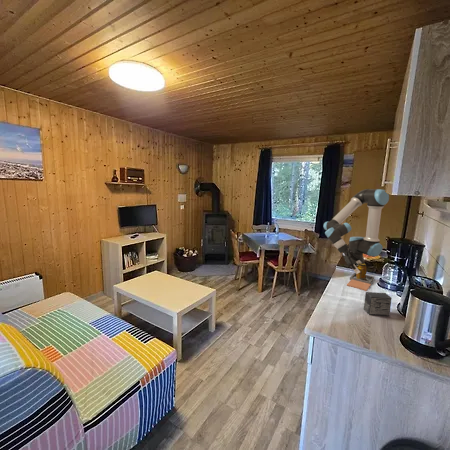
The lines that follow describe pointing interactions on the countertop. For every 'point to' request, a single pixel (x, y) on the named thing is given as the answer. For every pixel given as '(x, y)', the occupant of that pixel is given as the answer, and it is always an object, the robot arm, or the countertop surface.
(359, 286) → the tile
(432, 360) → the countertop surface
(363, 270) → the condiment
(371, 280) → the holder
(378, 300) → the small box
